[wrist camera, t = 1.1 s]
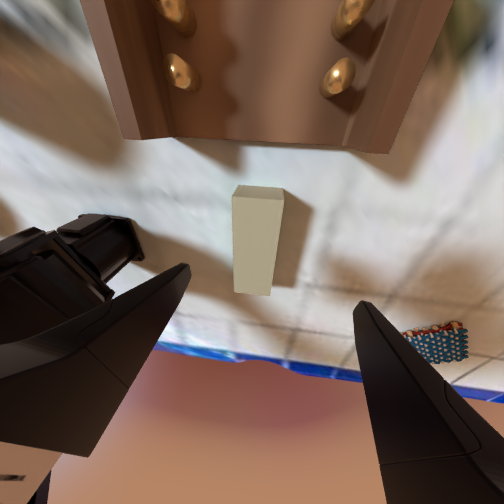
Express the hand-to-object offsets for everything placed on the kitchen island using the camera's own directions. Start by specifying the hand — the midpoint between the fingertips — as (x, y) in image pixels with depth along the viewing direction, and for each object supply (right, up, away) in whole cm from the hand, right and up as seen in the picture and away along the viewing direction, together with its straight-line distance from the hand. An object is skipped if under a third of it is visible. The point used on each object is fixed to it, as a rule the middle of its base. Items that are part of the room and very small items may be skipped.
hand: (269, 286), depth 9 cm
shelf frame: (0, +16, +4) cm, 16 cm away
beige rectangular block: (0, +4, +13) cm, 13 cm away
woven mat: (+28, -13, +21) cm, 38 cm away
